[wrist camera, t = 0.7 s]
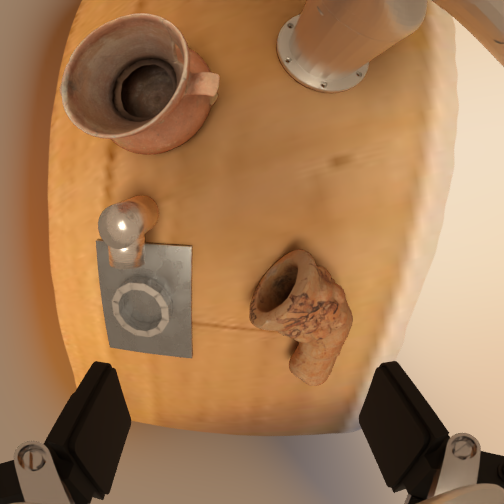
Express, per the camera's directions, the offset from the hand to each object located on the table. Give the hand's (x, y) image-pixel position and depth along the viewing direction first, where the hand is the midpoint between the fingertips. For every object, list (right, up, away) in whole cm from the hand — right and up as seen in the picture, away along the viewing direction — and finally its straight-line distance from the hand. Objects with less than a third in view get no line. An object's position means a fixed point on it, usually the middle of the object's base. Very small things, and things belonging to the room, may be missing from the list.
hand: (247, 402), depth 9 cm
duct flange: (-15, -2, +31) cm, 35 cm away
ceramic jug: (-12, +25, +23) cm, 36 cm away
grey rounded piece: (-14, +9, +28) cm, 32 cm away
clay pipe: (+7, -3, +32) cm, 33 cm away
